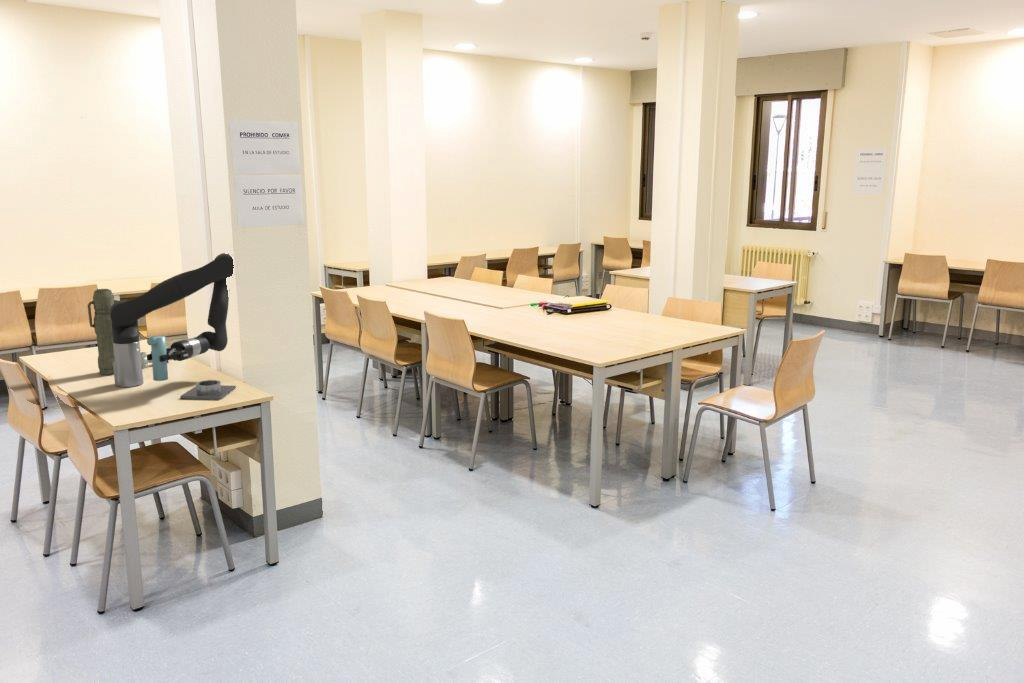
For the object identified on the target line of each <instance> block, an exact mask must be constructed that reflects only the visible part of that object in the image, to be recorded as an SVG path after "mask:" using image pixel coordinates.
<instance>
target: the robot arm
mask: <svg viewBox="0 0 1024 683" xmlns="http://www.w3.org/2000/svg"><path fill="white" fill-rule="evenodd" d="M225 253H226V252H223V253H219V254H218V255H217V256H215V258H214V259H213V260H212V261H210V262H209V263H207V264H205V265H203V266H201V267H199V268H195V269H193V270H188V271H185V272H181V273H179V274H176V275H174V276H172V277H169V278H168V279H166V280H163V281H161V282H160V283H158V284H157V285H155V286H153V287H152V288H150V289H149V290H148V291H146V292H145V293H143V294H141V295H139V296H136V297H134V298H131V299H129V300H127V299H120V300H117V302H115V303H114V304H113V305H112V307H111V310H110V318H111V323H112V337H113V346H114V356H115V361H114V362H113V369H114V375H113V377H114V386H115V387H121V388H130V387H131V388H132V387H138V386H141V385H143V384H144V374H143V369H142V363H141V352H142V351H141V344H140V332H139V331H140V330H139V322H138V321H139V319H141V318H142V317H145V316H146V315H148V314H150V313H152V312H154V311H156V310H159V309H162V308H165V307H167V306H170V305H173V304H174V303H176V302H179V301H181V300H183V299H186V298H187V297H190V296H191V295H193V294H195V293H196V292H198V291H201V290H202V289H203V288H205V287H206V286H209V285H211V284H213V288H212V295H211V298H210V303H209V310H208V315H207V325H209V326H210V327H211V328H213V330H214V331H211V330H210V331H209V330H208V331H204V332H202V333H200V334H199V335H197V336H194V337H191V338H185V339H182V340H177V341H174V342H172V344H170V346H169V347H166V353H167V354H165V355H162V356H160V357H159V359H160V362H164V361H167V360H168V361H174V362H175V361H176V362H177V361H178V362H182V361H185V360H188V359H192V358H194V357H197V356H199V355H202V354H205V353H207V352H208V351H209V350H213V351H216V352H223V351H224V350H226V347H227V345H228V331H227V319H228V318H227V317H228V312H229V299H230V296H229V297H228V290H227V285H226V278H227V277H230V276H232V274H233V268H234V267H233V266H234V265H233V259H232V257H231V256H230V255H229V254H230V253H228V254H225ZM147 360H149V361H150V360H152V351H151V350H150V353H147ZM137 385H138V386H137Z"/></svg>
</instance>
